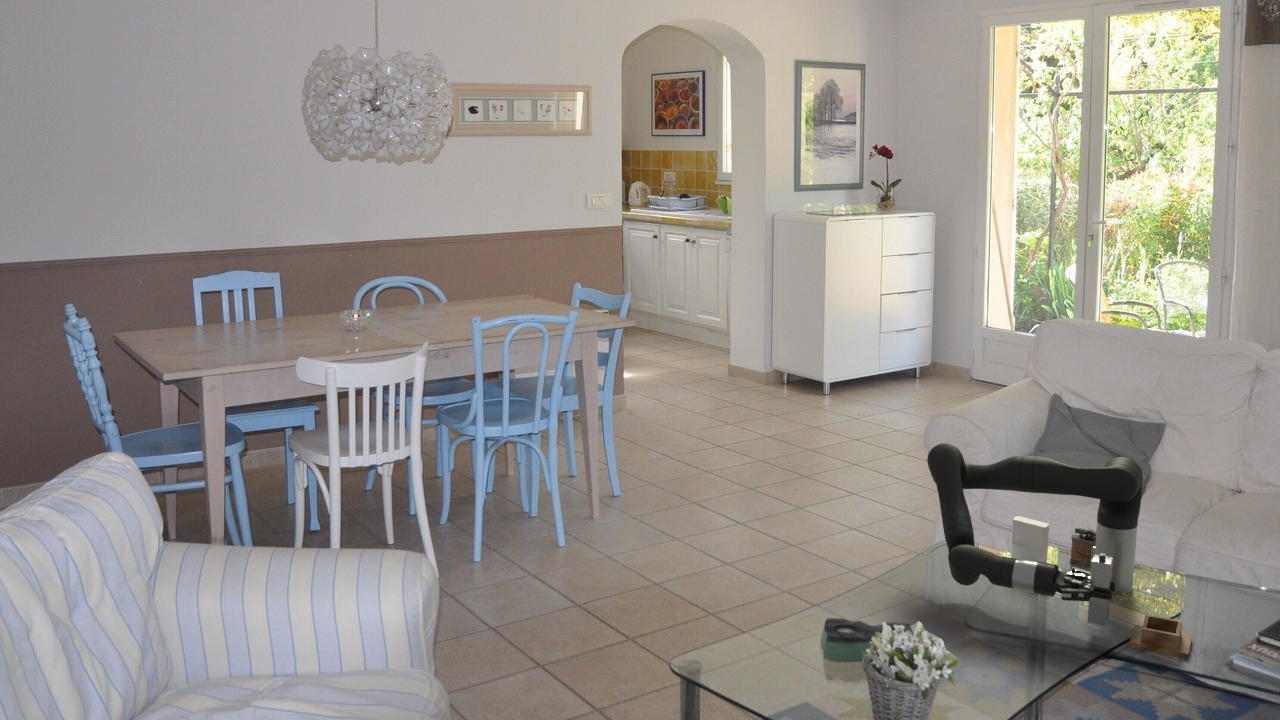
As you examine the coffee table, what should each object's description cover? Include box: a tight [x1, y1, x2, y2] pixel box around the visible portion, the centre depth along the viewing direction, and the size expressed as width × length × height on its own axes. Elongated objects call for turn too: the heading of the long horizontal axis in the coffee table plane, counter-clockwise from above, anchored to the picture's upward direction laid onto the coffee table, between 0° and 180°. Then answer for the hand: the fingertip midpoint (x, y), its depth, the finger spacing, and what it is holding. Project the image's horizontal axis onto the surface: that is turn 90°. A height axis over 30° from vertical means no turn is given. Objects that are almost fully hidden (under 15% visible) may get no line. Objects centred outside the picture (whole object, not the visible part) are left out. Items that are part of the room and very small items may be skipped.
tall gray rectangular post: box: [1086, 553, 1113, 627], centre depth 256 cm, size 4×4×17 cm
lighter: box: [1069, 526, 1096, 569], centre depth 291 cm, size 8×3×10 cm, turn 58°
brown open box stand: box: [1128, 613, 1193, 660], centre depth 252 cm, size 12×9×5 cm
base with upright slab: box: [1010, 515, 1050, 563], centre depth 292 cm, size 9×9×12 cm
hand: (1113, 591), depth 255 cm, fingers closed on tall gray rectangular post, 4 cm apart
